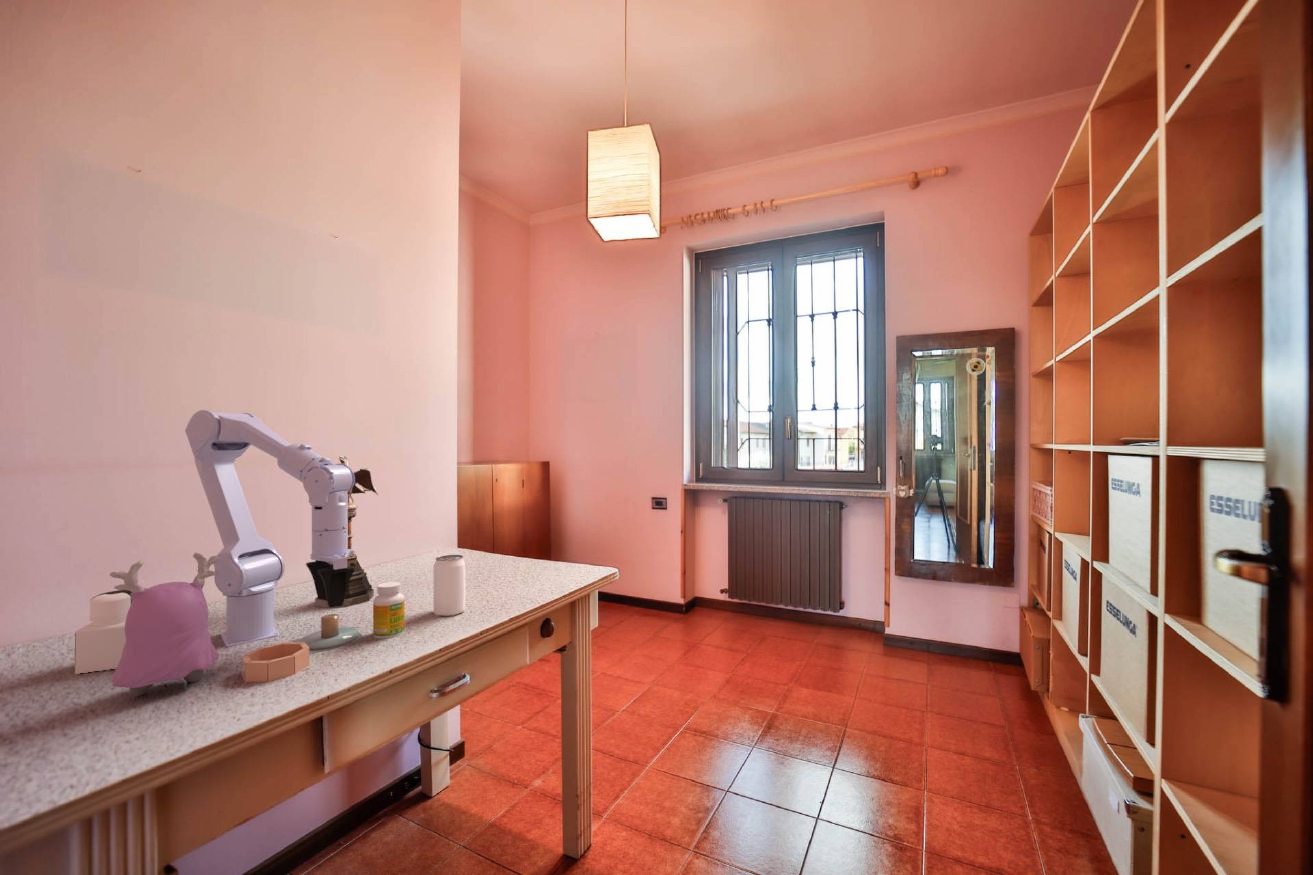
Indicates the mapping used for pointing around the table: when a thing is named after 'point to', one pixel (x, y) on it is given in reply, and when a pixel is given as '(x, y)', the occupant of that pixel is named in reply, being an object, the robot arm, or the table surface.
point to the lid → (330, 634)
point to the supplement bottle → (388, 611)
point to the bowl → (275, 661)
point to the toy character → (165, 631)
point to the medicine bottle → (103, 633)
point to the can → (449, 585)
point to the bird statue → (358, 582)
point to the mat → (358, 639)
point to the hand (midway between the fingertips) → (330, 602)
